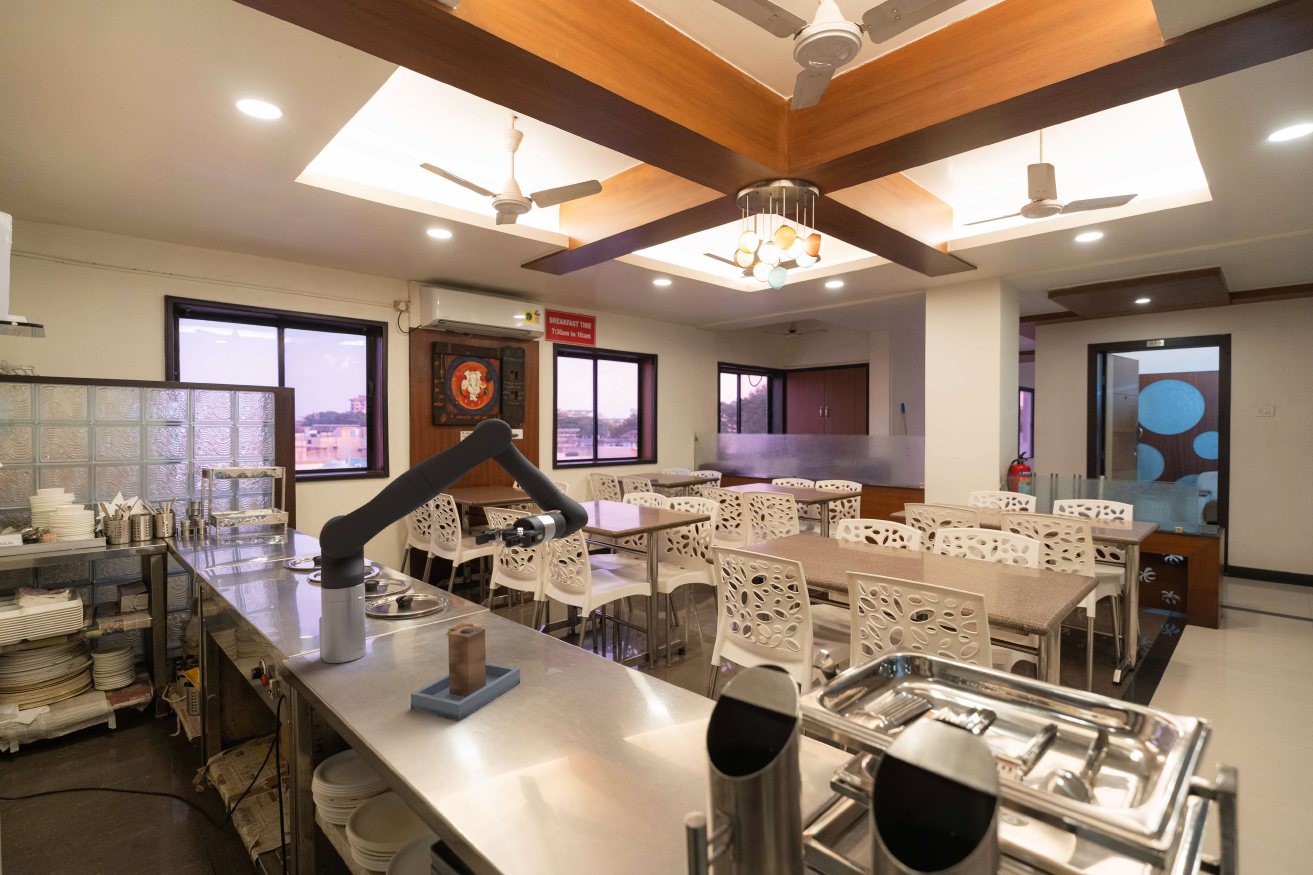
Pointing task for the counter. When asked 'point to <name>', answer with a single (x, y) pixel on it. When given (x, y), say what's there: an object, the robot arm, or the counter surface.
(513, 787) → the counter surface
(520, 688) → the counter surface
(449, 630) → the shard
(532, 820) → the counter surface
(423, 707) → the slate tray
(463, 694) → the walnut block
